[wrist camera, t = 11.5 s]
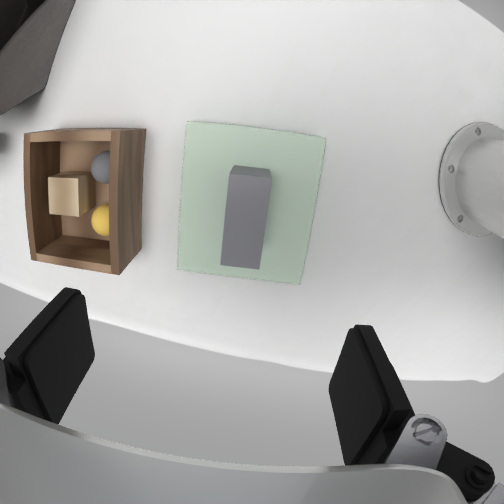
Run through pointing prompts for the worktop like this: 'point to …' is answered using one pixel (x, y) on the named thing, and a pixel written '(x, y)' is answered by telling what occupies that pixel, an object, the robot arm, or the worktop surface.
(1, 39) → the planter
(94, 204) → the beech cube
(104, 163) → the ball grey
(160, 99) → the worktop surface
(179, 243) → the lid
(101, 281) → the worktop surface
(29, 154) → the wooden box
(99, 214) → the ball mustard
